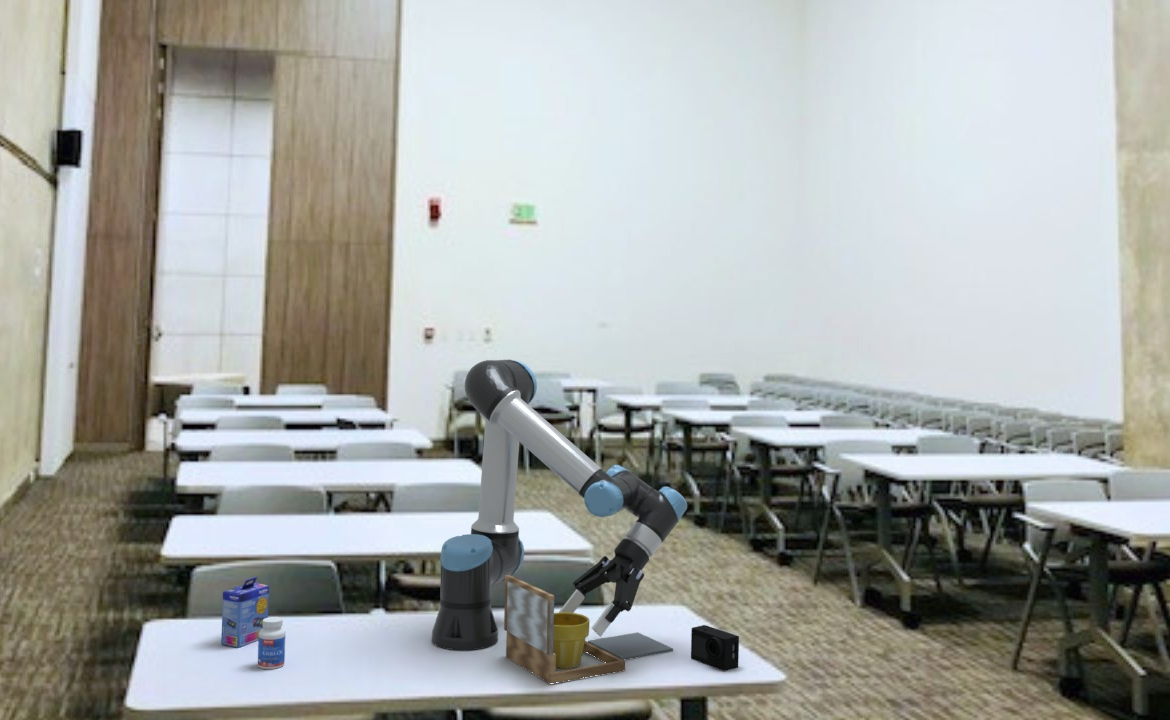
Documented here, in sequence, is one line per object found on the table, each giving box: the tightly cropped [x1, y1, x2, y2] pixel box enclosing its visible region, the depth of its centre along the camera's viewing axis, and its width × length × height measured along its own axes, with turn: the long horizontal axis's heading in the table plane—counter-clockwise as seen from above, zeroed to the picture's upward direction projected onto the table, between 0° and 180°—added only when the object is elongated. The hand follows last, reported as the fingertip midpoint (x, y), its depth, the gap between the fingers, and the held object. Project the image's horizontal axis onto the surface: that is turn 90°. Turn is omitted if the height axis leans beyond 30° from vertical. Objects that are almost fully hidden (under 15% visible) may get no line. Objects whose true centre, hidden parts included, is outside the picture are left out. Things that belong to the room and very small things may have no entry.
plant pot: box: [553, 612, 590, 669], centre depth 210 cm, size 10×10×10 cm
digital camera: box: [690, 624, 740, 672], centre depth 212 cm, size 10×5×7 cm, turn 38°
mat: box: [587, 632, 674, 661], centre depth 223 cm, size 14×14×1 cm
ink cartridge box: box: [220, 576, 270, 649], centre depth 222 cm, size 10×6×14 cm, turn 158°
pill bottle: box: [257, 616, 286, 670], centre depth 205 cm, size 6×5×10 cm
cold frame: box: [503, 575, 626, 684], centre depth 210 cm, size 20×19×18 cm
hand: (578, 624), depth 211 cm, fingers open, 13 cm apart
